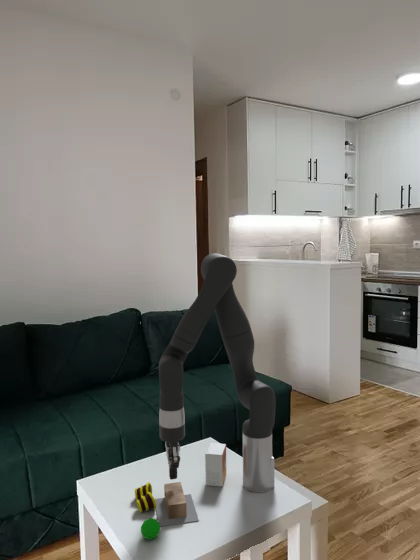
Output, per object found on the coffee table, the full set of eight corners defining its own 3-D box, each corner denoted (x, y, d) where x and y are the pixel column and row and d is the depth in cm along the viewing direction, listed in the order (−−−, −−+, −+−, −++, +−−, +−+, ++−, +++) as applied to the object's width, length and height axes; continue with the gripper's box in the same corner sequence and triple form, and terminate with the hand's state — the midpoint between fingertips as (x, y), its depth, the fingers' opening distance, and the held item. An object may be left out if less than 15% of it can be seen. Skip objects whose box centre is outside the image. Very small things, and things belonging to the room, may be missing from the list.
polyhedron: (137, 539, 114) (136, 522, 114) (149, 528, 119) (148, 512, 118) (152, 546, 112) (152, 528, 112) (164, 534, 116) (163, 517, 116)
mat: (190, 494, 134) (190, 494, 134) (198, 521, 122) (198, 520, 122) (154, 499, 132) (154, 499, 132) (159, 527, 119) (159, 526, 119)
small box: (222, 487, 138) (222, 455, 137) (205, 485, 139) (204, 453, 138) (226, 474, 146) (226, 443, 145) (210, 472, 147) (209, 442, 146)
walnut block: (180, 481, 134) (186, 502, 123) (180, 494, 134) (186, 516, 123) (164, 484, 133) (168, 505, 122) (164, 496, 133) (168, 519, 122)
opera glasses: (136, 499, 134) (132, 484, 133) (153, 493, 135) (149, 478, 135) (140, 518, 125) (136, 502, 124) (158, 511, 126) (154, 496, 125)
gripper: (188, 429, 124) (189, 488, 125) (181, 412, 137) (182, 465, 138) (161, 432, 122) (163, 492, 124) (156, 414, 135) (158, 468, 137)
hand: (173, 477), depth 131 cm, fingers closed
